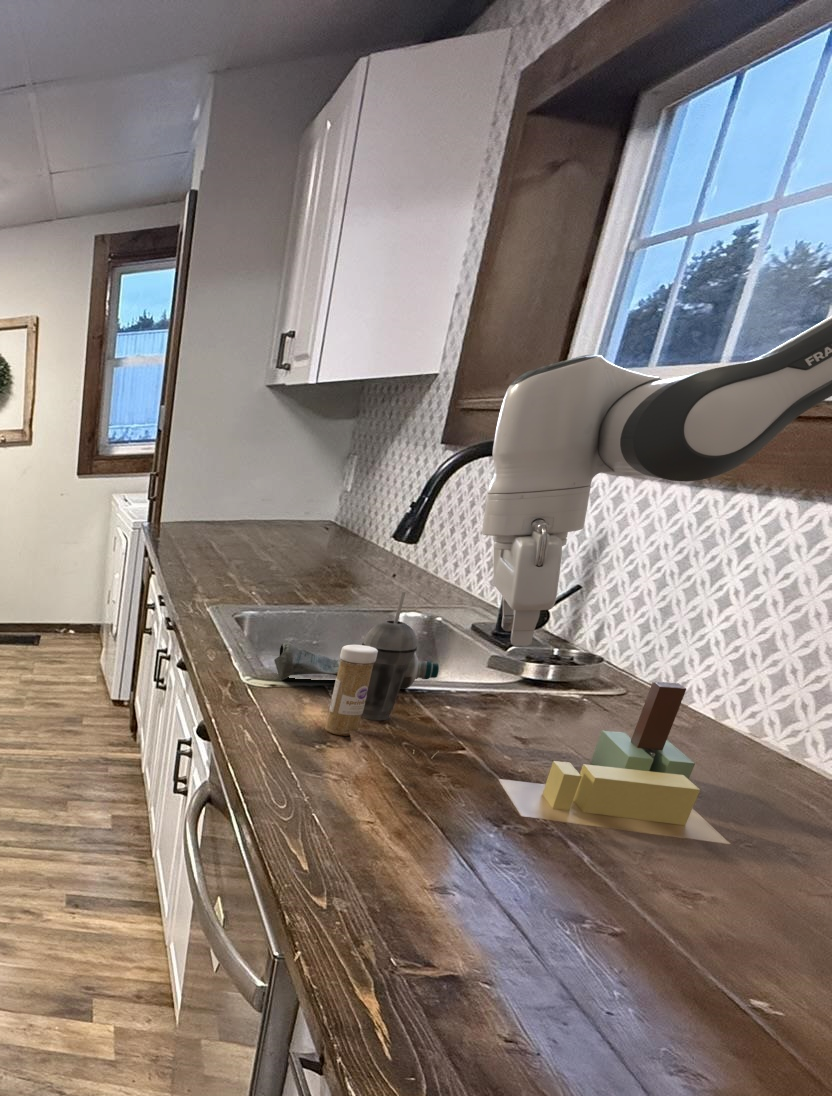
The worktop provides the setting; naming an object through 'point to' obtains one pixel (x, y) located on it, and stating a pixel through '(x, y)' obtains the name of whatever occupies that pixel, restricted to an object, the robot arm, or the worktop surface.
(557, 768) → the butter slice
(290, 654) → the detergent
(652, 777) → the butter
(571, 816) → the butter board
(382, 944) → the worktop surface
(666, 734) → the wood-handled putty knife
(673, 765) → the knife block
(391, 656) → the beverage cup
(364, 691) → the sprinkles bottle
